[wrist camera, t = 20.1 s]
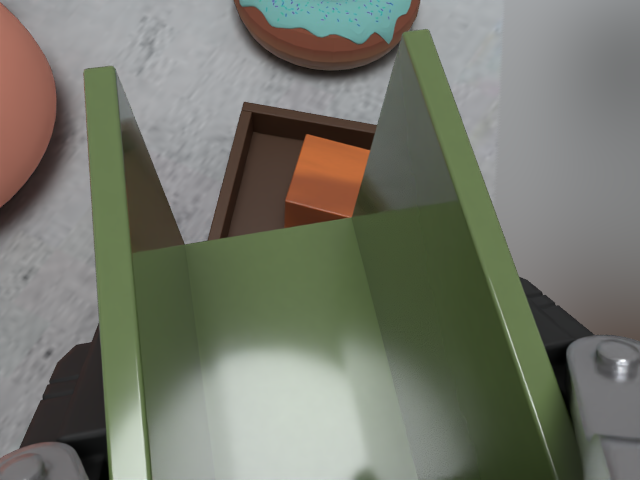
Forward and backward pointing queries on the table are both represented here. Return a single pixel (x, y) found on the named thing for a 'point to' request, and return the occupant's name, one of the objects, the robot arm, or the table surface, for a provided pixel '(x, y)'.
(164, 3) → the table surface
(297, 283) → the green storage bin
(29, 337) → the table surface
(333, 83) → the table surface
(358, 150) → the block
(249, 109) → the tray
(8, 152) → the teapot
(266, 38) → the donut
